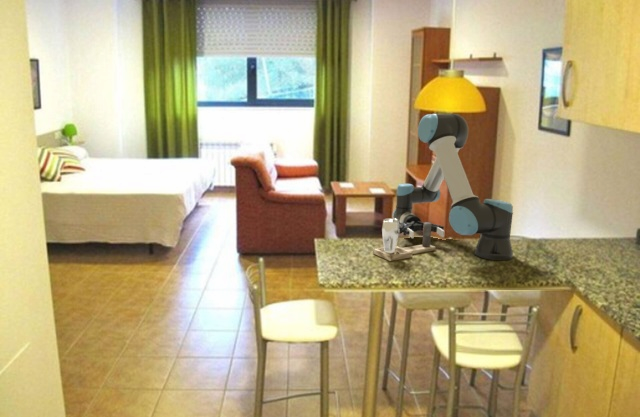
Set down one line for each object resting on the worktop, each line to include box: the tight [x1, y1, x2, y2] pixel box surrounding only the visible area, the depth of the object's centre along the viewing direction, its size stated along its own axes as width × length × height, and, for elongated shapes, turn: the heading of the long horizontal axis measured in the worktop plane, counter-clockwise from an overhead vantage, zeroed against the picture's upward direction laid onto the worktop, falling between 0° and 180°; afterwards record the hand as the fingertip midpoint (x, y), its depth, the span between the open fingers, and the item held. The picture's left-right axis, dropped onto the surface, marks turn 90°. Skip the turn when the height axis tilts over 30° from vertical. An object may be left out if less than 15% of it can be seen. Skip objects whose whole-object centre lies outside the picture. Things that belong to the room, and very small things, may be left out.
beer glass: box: [381, 217, 400, 255], centre depth 242 cm, size 7×7×15 cm
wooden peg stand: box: [372, 221, 436, 262], centre depth 247 cm, size 11×27×12 cm, turn 122°
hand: (428, 234), depth 251 cm, fingers open, 13 cm apart
